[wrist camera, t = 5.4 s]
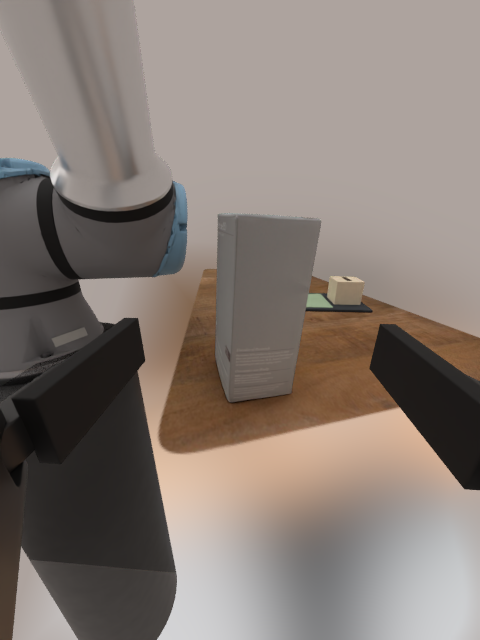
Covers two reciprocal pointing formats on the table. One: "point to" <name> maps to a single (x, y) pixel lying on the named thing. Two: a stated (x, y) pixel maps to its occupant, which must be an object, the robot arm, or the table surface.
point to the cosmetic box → (261, 300)
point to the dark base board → (339, 296)
